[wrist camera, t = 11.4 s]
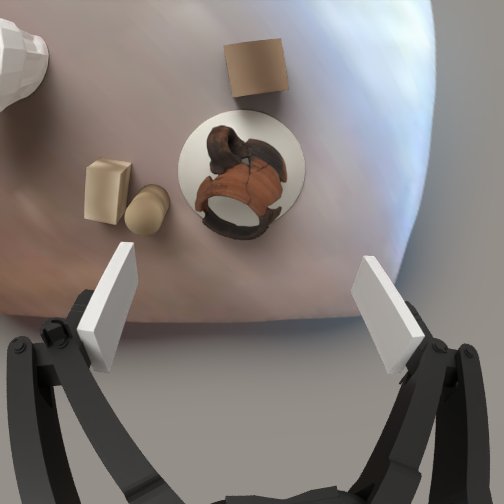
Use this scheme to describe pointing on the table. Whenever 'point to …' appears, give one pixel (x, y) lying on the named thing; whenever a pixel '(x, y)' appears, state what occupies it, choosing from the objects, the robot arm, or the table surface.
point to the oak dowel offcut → (147, 210)
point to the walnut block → (256, 67)
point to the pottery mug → (241, 181)
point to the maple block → (106, 190)
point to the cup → (20, 63)
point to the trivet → (246, 127)
